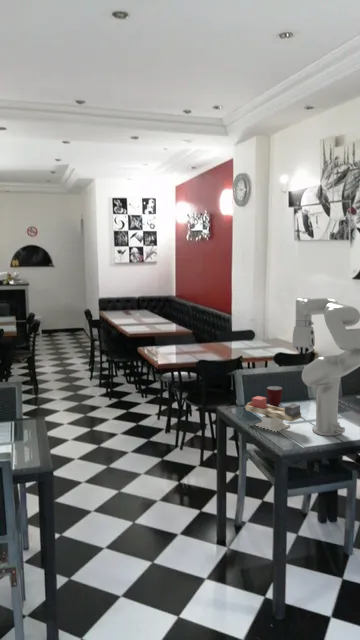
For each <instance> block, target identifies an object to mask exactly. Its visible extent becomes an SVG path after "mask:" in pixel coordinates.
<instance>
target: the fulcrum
mask: <svg viewBox="0 0 360 640" xmlns="http://www.w3.org/2000/svg"><path fill="white" fill-rule="evenodd" d="M254 425H256V426H259V427H258V428H260V427H262V428H261V429H263V428H265V429H264V430H267V429H269V430H268V431H270V430H272V431H271V432H274V431H275V432H274V433H278V432H280V431H282V429H283V430H284V429H287V428H289V427H291V424H290V423H286V422H284V420H282V419H278V418H274V417H270V416H269V417H266V415H262V416H261V422H257V423H255V424H254ZM256 426H255V427H256ZM277 431H278V432H277Z"/></svg>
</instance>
